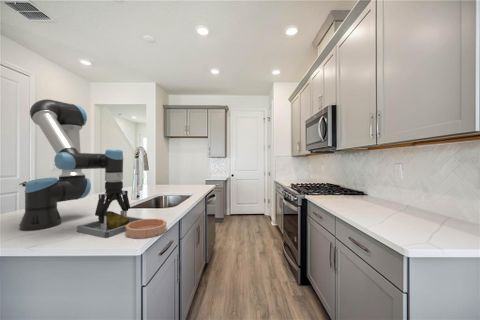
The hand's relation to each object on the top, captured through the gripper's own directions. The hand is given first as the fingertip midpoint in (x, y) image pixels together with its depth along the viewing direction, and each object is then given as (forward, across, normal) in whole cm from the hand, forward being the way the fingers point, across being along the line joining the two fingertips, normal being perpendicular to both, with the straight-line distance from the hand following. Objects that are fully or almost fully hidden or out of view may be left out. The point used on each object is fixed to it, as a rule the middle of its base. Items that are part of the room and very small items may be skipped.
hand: (113, 226), depth 103 cm
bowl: (+1, +2, -19) cm, 19 cm away
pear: (+1, 0, 0) cm, 1 cm away
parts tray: (+1, 0, 0) cm, 1 cm away
